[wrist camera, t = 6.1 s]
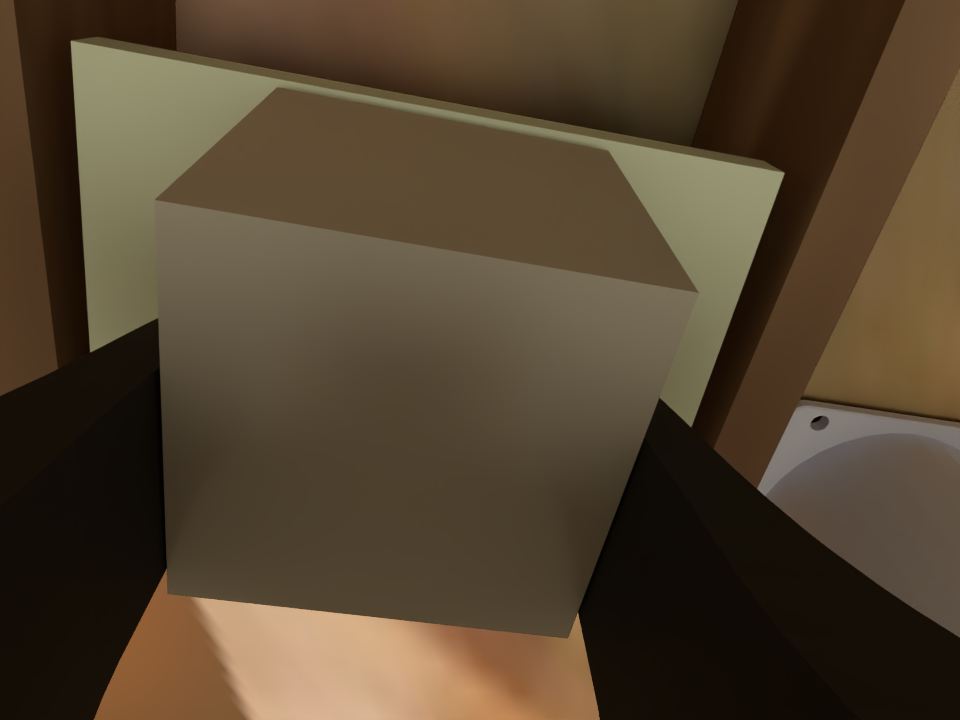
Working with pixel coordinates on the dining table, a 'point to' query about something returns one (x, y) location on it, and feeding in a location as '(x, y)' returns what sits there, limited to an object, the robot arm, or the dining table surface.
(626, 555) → the robot arm
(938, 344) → the dining table surface
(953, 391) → the dining table surface
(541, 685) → the dining table surface
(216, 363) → the beige cube
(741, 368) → the frame
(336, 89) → the flap
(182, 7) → the dining table surface
